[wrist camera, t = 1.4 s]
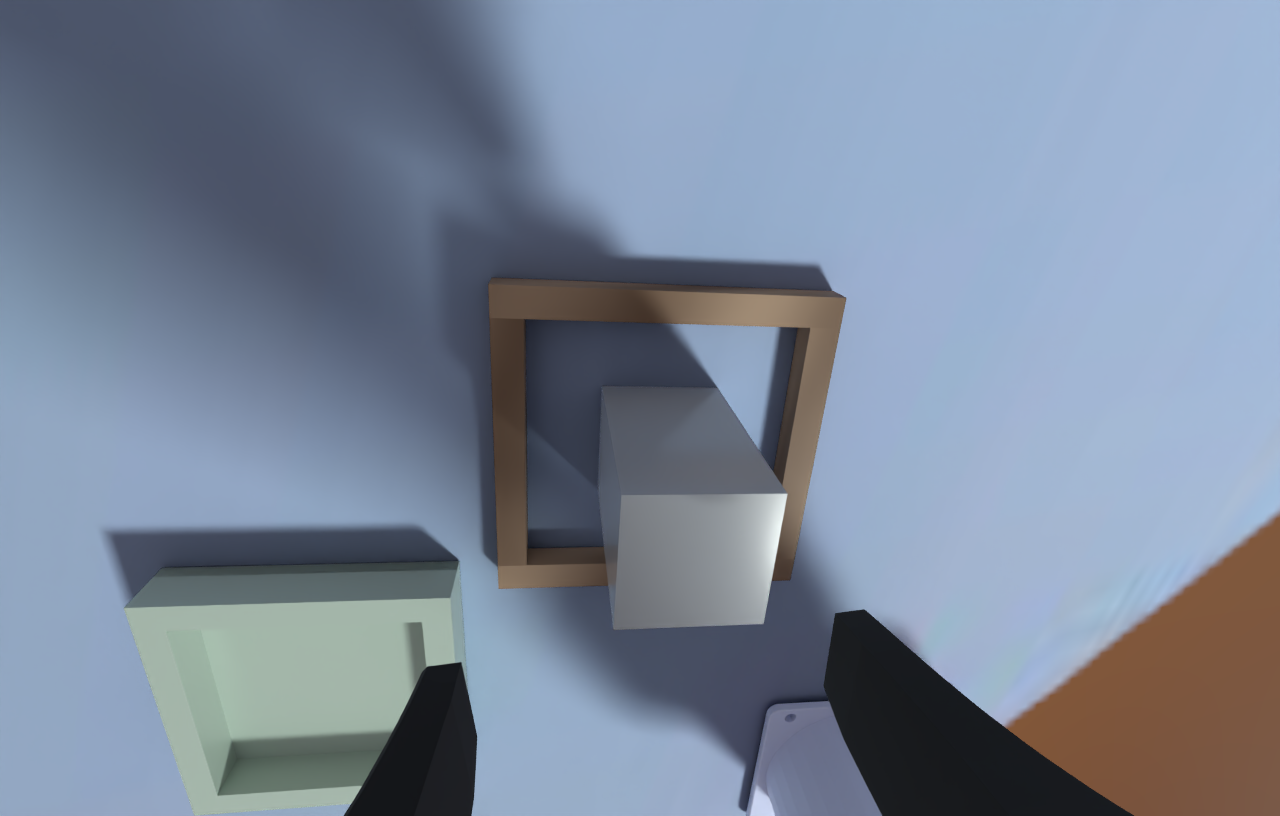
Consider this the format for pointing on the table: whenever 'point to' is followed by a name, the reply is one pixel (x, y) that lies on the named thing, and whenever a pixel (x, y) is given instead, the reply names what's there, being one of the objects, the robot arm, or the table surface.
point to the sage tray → (290, 672)
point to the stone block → (684, 510)
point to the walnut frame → (647, 304)
